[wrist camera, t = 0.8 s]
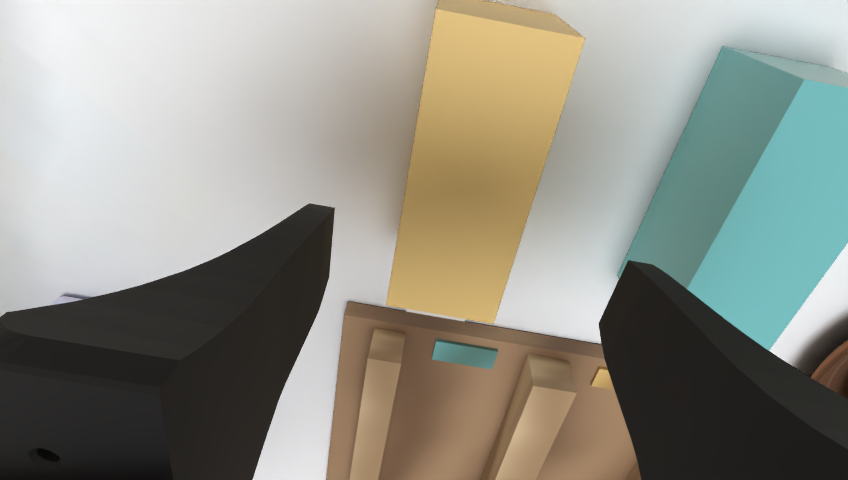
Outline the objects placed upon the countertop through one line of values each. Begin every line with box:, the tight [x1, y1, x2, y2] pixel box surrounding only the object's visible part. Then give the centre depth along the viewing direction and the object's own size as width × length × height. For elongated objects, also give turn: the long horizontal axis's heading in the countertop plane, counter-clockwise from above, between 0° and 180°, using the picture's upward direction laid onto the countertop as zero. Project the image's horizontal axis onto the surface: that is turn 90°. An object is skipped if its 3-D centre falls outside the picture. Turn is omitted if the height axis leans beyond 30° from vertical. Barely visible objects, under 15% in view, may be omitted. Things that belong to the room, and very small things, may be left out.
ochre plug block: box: [386, 0, 585, 324], centre depth 18 cm, size 4×11×5 cm, turn 170°
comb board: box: [326, 302, 641, 480], centre depth 28 cm, size 20×17×3 cm
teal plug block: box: [617, 46, 848, 351], centre depth 18 cm, size 4×11×5 cm, turn 171°
